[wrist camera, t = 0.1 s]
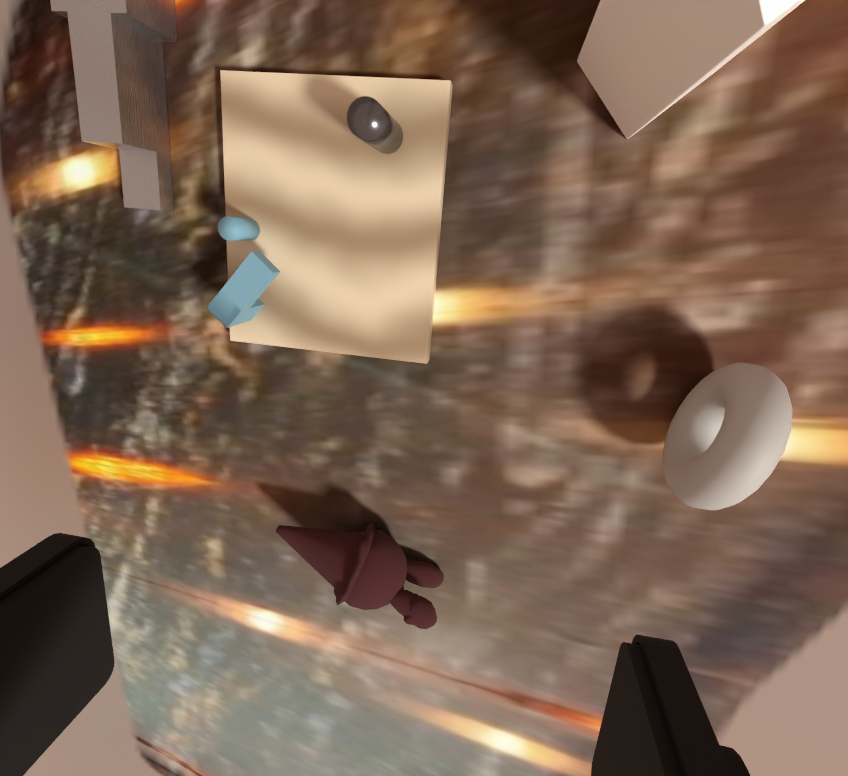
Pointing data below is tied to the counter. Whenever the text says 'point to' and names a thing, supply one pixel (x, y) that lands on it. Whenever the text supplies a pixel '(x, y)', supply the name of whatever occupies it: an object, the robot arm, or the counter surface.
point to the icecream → (367, 569)
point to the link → (125, 88)
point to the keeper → (242, 276)
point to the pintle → (374, 125)
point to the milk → (666, 49)
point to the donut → (727, 436)
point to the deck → (337, 210)
